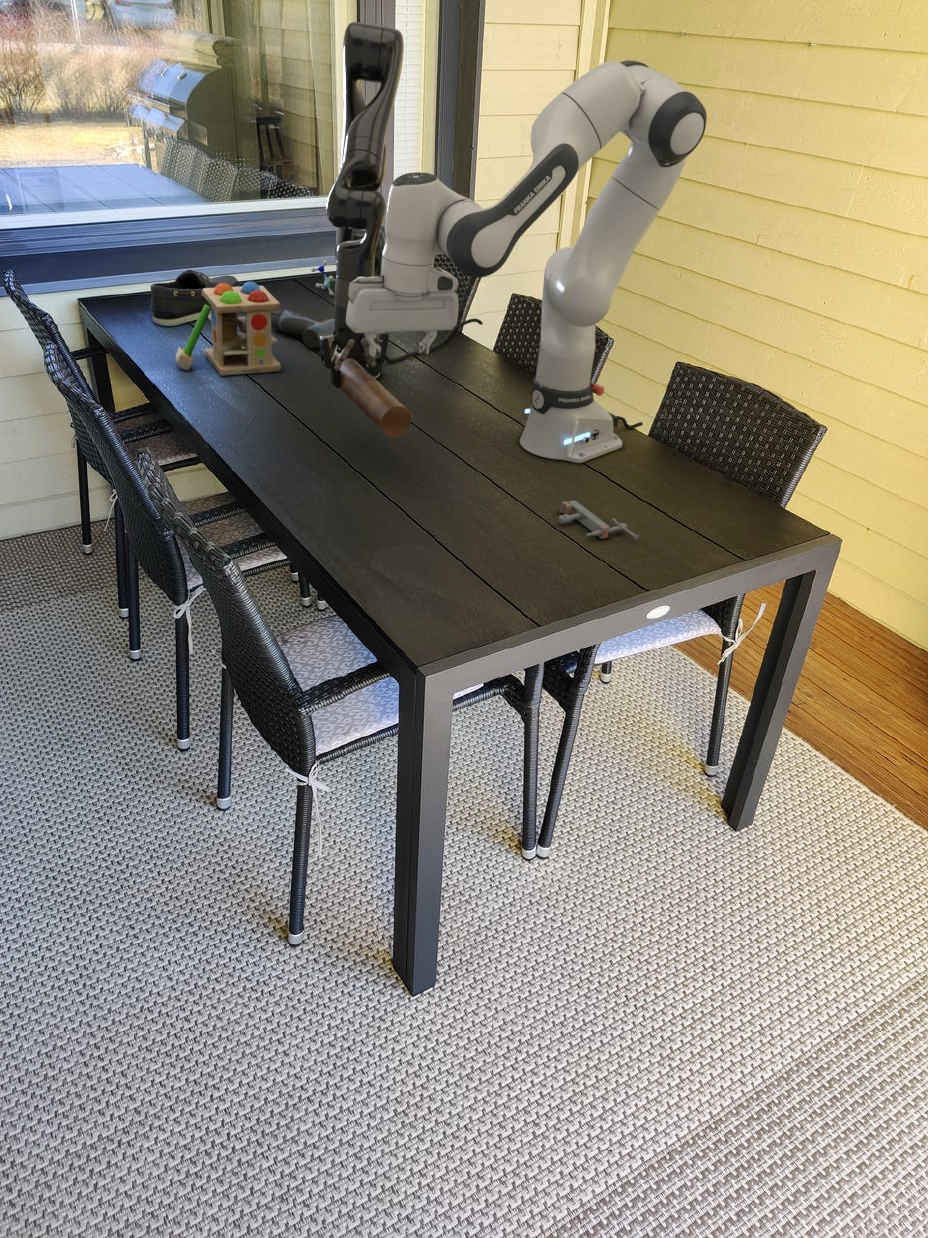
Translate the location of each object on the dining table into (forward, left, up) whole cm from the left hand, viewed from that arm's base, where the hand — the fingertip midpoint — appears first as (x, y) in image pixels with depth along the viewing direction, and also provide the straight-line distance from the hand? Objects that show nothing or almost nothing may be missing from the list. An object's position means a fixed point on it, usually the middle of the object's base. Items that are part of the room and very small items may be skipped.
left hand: (352, 385), depth 195 cm
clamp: (0, +56, -12) cm, 57 cm away
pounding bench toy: (-13, -48, -12) cm, 51 cm away
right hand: (+8, +17, +13) cm, 22 cm away
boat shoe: (-37, -81, -12) cm, 90 cm away
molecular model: (-77, -69, -12) cm, 104 cm away
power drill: (-44, -49, -12) cm, 67 cm away
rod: (+5, +8, -2) cm, 9 cm away
